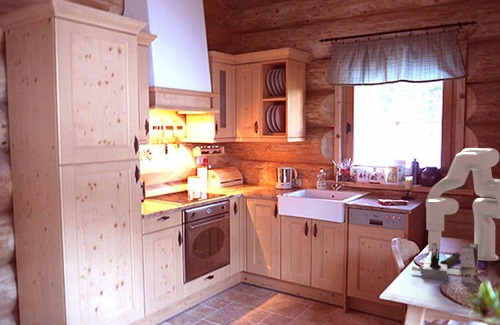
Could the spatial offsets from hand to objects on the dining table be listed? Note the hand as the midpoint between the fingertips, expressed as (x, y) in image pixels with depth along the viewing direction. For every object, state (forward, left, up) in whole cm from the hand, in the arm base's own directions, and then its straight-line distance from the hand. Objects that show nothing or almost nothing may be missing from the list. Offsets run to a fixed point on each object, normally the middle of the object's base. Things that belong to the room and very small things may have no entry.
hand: (435, 263), depth 196 cm
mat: (-10, +6, -7) cm, 13 cm away
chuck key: (0, 0, -6) cm, 6 cm away
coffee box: (-1, +14, -7) cm, 16 cm away
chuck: (0, -3, -7) cm, 7 cm away
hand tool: (-24, +6, -7) cm, 26 cm away
